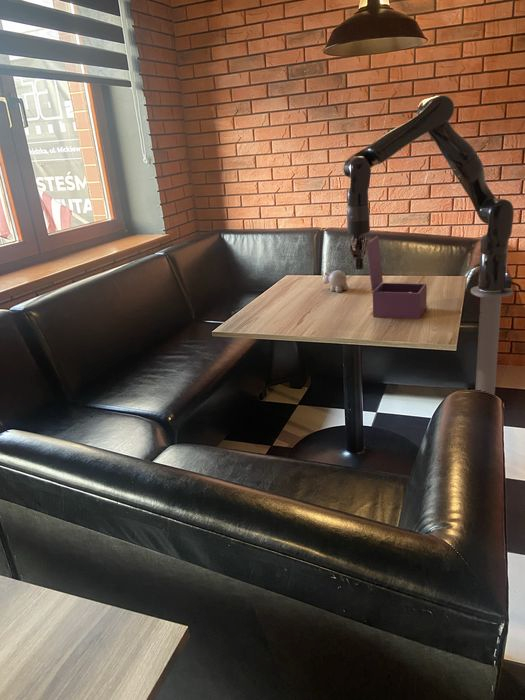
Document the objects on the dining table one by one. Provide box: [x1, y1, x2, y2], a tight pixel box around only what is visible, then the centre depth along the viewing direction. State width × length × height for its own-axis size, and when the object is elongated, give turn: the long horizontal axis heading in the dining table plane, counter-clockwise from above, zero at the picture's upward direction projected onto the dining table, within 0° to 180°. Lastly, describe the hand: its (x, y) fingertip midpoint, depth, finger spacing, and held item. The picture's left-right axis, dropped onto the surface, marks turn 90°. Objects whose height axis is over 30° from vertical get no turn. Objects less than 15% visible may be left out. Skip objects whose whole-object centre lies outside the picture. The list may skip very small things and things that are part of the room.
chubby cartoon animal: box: [322, 269, 349, 293], centre depth 221 cm, size 7×12×8 cm, turn 36°
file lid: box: [366, 235, 384, 292], centre depth 184 cm, size 16×13×1 cm
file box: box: [372, 282, 428, 320], centre depth 185 cm, size 16×13×9 cm
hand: (359, 268), depth 188 cm, fingers closed
